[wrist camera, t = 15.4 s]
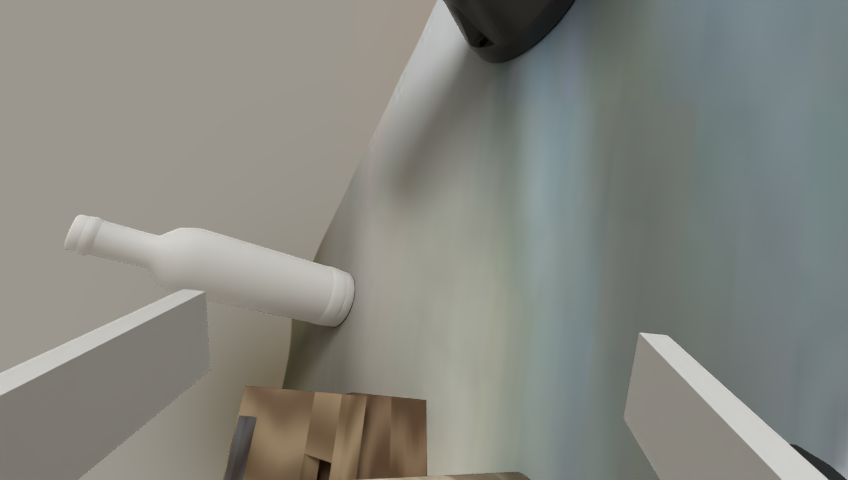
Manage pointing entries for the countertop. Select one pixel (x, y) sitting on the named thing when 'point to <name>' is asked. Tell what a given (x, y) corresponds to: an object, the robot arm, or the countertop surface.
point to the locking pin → (468, 477)
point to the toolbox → (390, 439)
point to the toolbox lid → (295, 435)
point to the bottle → (222, 269)
